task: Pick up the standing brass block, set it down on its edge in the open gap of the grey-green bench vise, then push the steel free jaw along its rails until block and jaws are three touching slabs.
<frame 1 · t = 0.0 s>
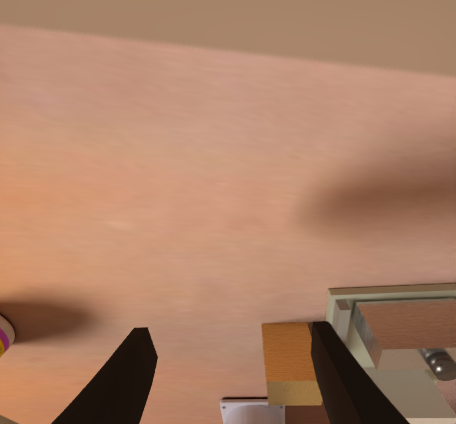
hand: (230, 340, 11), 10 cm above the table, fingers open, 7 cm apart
block: (284, 334, 25), on the table
vise: (383, 339, 24), on the table
free jaw: (421, 337, 19), point 4 cm above the table, slide at 0.0 cm
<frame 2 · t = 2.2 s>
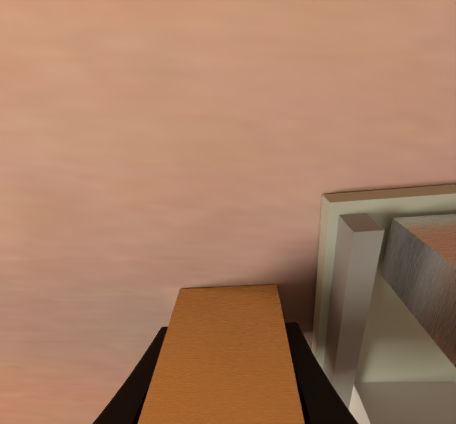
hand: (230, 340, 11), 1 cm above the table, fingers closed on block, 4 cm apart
block: (231, 314, 12), on the table, touching gripper
vise: (442, 321, 11), on the table
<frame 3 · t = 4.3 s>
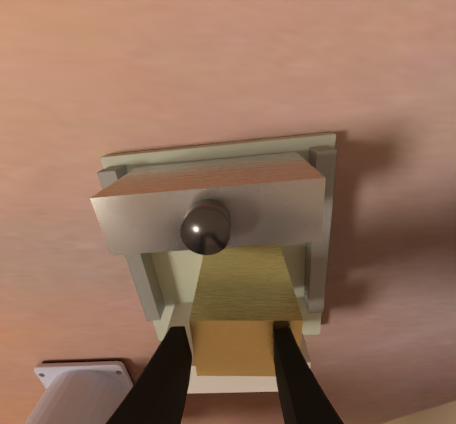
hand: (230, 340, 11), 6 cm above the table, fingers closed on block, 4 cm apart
block: (242, 268, 15), point 1 cm above the table, touching gripper, vise
vise: (228, 253, 16), on the table
free jaw: (212, 201, 10), point 4 cm above the table, slide at 0.0 cm
when the fingers open (3 cm above the table, at t = 5.2 s): block stays where it is, resting on vise.
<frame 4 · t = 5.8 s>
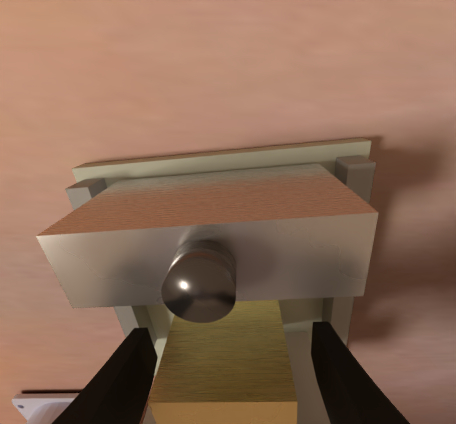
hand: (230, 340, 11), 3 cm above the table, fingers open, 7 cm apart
block: (231, 303, 13), point 1 cm above the table, touching vise
vise: (231, 279, 13), on the table
free jaw: (211, 232, 8), point 4 cm above the table, slide at 0.0 cm
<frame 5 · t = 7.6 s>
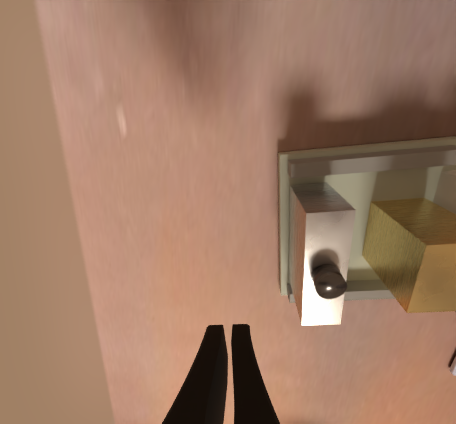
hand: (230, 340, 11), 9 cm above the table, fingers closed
block: (391, 228, 17), point 1 cm above the table, touching vise
vise: (372, 223, 18), on the table
free jaw: (316, 257, 15), point 4 cm above the table, slide at 0.0 cm
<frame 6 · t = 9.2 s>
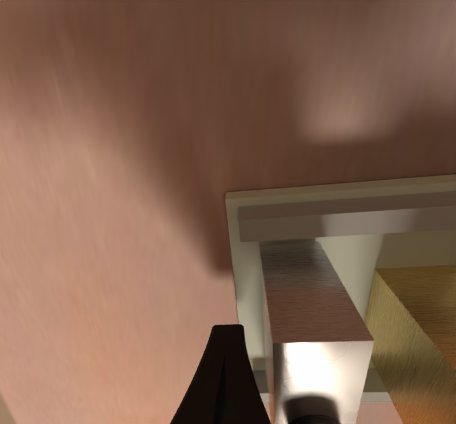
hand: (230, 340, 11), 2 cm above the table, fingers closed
block: (405, 305, 11), point 1 cm above the table, touching vise
vise: (376, 293, 12), on the table
free jaw: (301, 372, 9), point 4 cm above the table, slide at 0.6 cm, touching gripper
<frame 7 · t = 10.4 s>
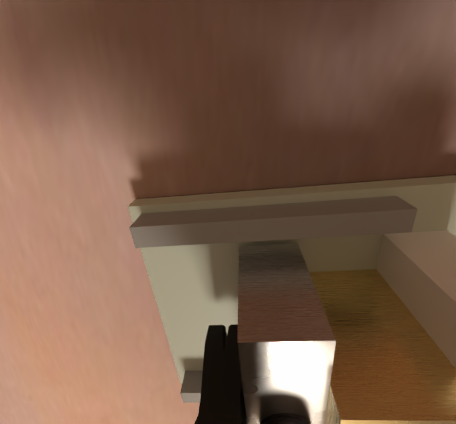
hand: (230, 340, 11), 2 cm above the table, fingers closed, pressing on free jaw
block: (331, 308, 12), point 1 cm above the table, touching free jaw, vise
vise: (295, 296, 12), on the table
free jaw: (278, 371, 9), point 4 cm above the table, slide at 3.8 cm, touching block, gripper
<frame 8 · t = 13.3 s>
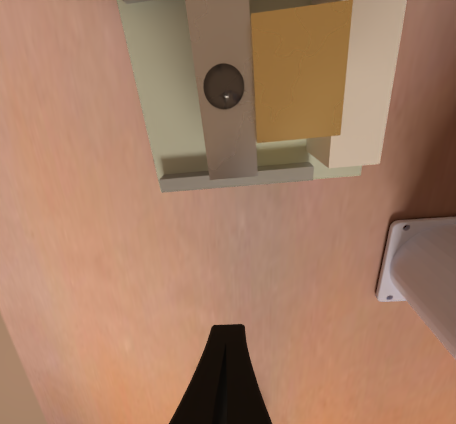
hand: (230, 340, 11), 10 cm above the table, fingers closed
block: (278, 86, 14), point 1 cm above the table, touching free jaw, vise
vise: (251, 89, 15), on the table
free jaw: (227, 89, 12), point 4 cm above the table, slide at 3.8 cm, touching block
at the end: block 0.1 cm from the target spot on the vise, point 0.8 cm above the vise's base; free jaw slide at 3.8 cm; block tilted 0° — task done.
